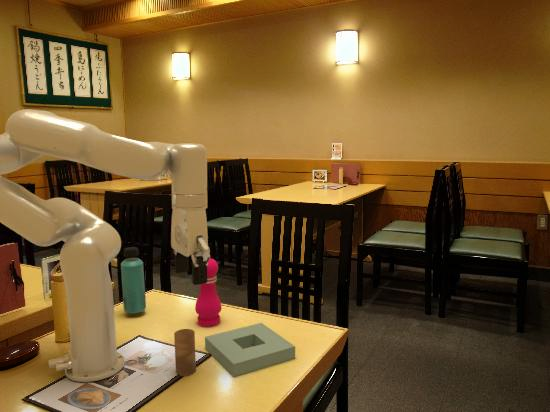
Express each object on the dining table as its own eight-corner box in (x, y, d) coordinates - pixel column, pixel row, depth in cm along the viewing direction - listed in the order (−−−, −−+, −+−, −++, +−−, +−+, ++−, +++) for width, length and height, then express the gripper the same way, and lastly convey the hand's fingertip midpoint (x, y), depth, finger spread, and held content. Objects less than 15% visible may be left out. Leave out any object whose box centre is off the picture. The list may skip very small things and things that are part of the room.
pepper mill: (208, 330, 126) (206, 258, 123) (190, 323, 130) (187, 253, 127) (227, 321, 132) (225, 252, 128) (208, 315, 136) (206, 248, 133)
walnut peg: (179, 378, 102) (178, 339, 100) (173, 369, 105) (171, 331, 104) (198, 372, 104) (197, 334, 102) (191, 364, 108) (190, 327, 106)
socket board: (234, 377, 102) (233, 364, 101) (205, 348, 115) (204, 336, 115) (295, 358, 110) (295, 346, 110) (261, 333, 124) (261, 322, 123)
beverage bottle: (151, 312, 138) (148, 246, 135) (133, 320, 133) (129, 251, 129) (136, 308, 142) (132, 244, 138) (118, 315, 136) (114, 248, 133)
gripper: (159, 197, 106) (160, 270, 109) (189, 208, 92) (190, 292, 94) (189, 195, 110) (190, 265, 113) (223, 205, 96) (223, 285, 98)
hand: (190, 277), depth 104 cm, fingers open, 9 cm apart
